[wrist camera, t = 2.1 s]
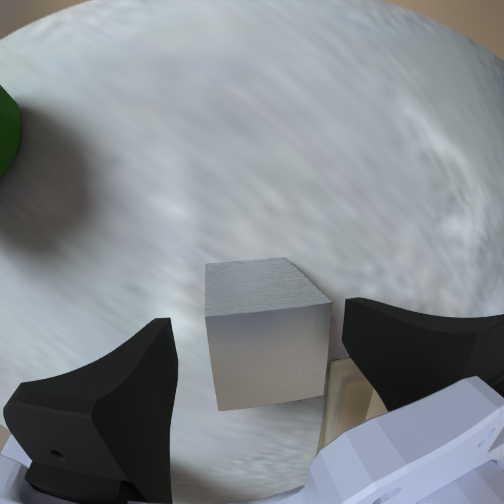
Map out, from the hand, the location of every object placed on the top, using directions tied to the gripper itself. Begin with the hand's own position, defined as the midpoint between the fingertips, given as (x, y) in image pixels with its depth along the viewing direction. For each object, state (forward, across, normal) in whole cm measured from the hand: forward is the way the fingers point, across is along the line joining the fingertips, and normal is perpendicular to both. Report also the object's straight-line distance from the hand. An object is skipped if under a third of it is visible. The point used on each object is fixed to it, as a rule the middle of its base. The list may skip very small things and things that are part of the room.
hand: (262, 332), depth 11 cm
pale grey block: (+4, 0, 0) cm, 4 cm away
